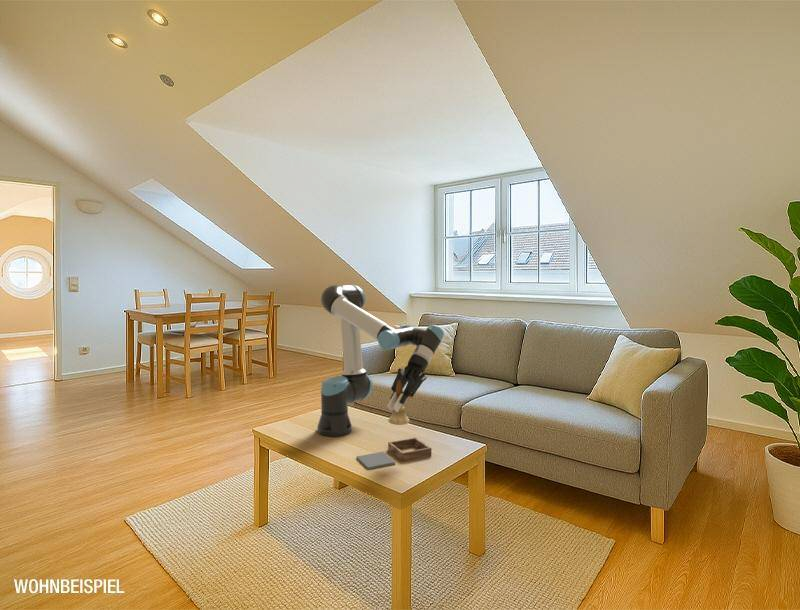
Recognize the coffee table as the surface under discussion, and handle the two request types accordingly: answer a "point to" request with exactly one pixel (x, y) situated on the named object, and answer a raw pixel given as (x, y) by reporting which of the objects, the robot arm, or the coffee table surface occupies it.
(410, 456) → the brown wooden square frame
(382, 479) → the coffee table surface
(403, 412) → the hand bell
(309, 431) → the coffee table surface
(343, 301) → the robot arm
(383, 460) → the grey rubber pad
